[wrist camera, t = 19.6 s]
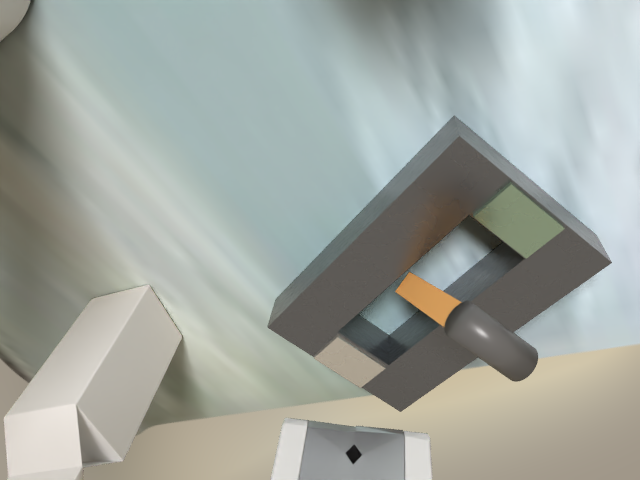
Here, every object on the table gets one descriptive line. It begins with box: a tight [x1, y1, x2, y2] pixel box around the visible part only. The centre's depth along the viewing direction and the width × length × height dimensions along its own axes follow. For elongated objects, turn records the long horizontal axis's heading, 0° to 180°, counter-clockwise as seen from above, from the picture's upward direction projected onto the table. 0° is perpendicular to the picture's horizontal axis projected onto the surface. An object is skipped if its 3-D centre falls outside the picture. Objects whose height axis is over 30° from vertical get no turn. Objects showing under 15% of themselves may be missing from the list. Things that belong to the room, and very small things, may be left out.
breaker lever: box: [395, 272, 538, 381], centre depth 40 cm, size 3×6×12 cm, turn 54°
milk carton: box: [4, 285, 182, 480], centre depth 48 cm, size 7×7×19 cm
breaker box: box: [268, 116, 612, 412], centre depth 47 cm, size 24×16×4 cm, turn 143°
